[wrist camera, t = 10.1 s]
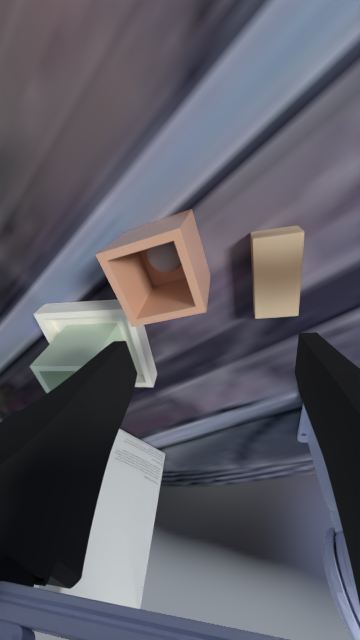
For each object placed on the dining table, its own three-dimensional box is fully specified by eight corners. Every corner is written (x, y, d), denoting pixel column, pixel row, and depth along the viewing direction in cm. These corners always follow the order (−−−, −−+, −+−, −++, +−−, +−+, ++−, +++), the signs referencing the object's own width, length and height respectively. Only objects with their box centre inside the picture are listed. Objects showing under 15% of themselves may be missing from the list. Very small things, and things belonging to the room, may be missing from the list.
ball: (178, 280, 18) (174, 274, 15) (146, 268, 18) (136, 260, 16) (191, 246, 18) (189, 234, 15) (158, 234, 18) (151, 220, 16)
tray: (157, 373, 26) (153, 387, 24) (80, 373, 28) (72, 386, 26) (136, 298, 21) (130, 308, 20) (45, 303, 23) (33, 313, 21)
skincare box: (97, 442, 35) (25, 604, 23) (120, 424, 32) (51, 602, 19) (144, 467, 38) (102, 629, 25) (170, 453, 34) (138, 631, 21)
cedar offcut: (292, 302, 20) (298, 315, 18) (253, 305, 20) (255, 318, 19) (296, 224, 17) (304, 231, 15) (250, 231, 17) (252, 239, 16)
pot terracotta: (210, 275, 19) (206, 312, 15) (152, 289, 21) (132, 327, 16) (191, 208, 17) (180, 228, 12) (127, 230, 18) (95, 254, 14)
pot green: (132, 364, 25) (111, 411, 20) (86, 364, 26) (56, 409, 21) (118, 322, 22) (90, 365, 17) (68, 324, 23) (29, 366, 18)
